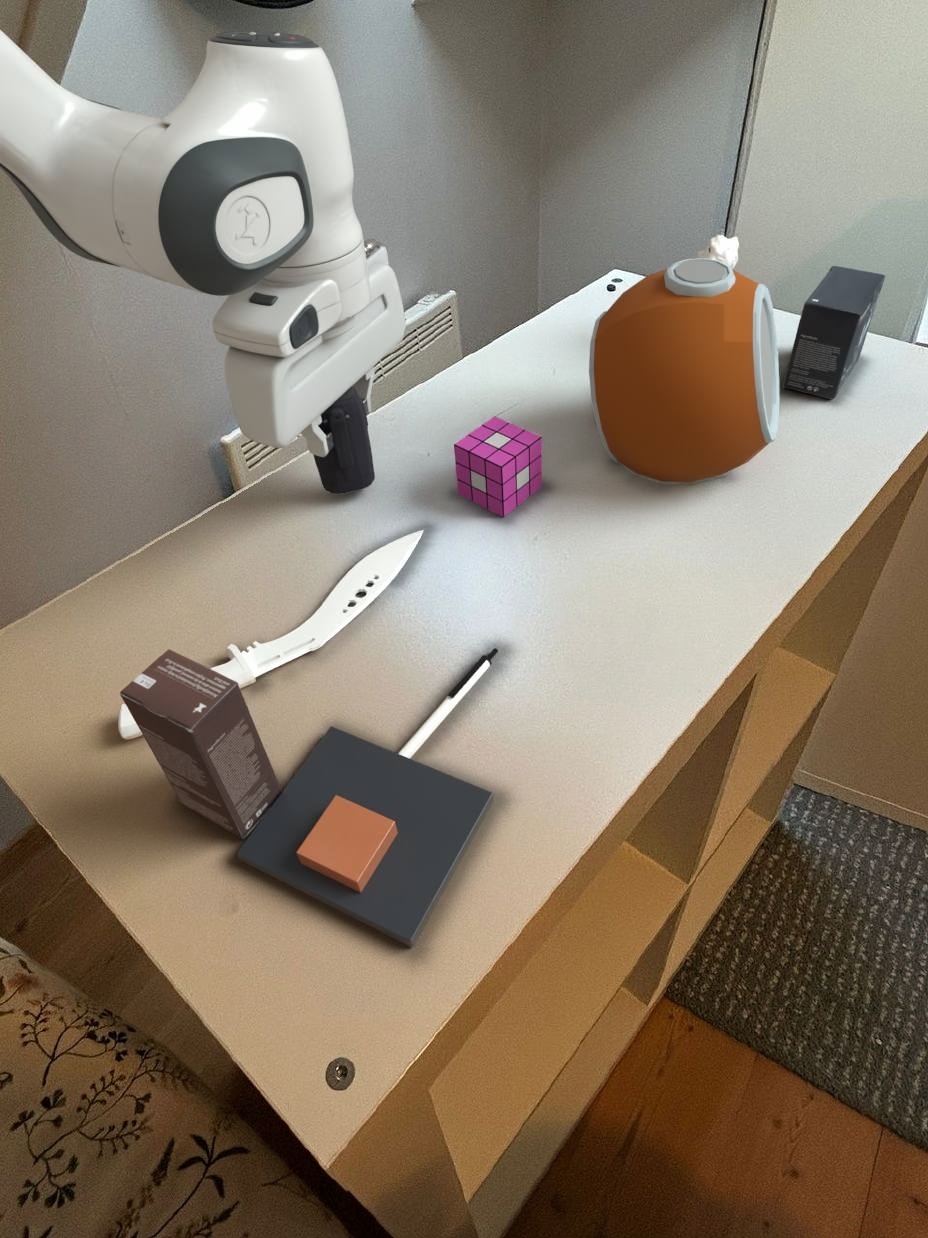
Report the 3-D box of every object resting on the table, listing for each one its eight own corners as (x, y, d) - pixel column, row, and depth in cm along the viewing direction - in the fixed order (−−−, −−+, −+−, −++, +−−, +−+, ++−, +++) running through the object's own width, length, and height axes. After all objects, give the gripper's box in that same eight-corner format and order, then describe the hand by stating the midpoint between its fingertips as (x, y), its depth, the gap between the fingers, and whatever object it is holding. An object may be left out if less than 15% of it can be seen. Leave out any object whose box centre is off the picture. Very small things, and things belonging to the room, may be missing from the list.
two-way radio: (374, 467, 80) (348, 323, 69) (384, 495, 77) (357, 349, 66) (318, 480, 79) (282, 336, 68) (325, 509, 76) (289, 363, 65)
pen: (501, 656, 64) (500, 646, 63) (339, 844, 54) (336, 836, 53) (491, 651, 64) (490, 641, 63) (329, 837, 54) (325, 829, 53)
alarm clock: (761, 521, 72) (809, 338, 60) (566, 492, 77) (572, 316, 64) (777, 403, 84) (819, 230, 72) (608, 384, 89) (620, 218, 76)
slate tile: (239, 860, 53) (235, 853, 53) (333, 733, 60) (330, 725, 59) (412, 949, 49) (410, 942, 48) (494, 800, 55) (493, 792, 54)
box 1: (287, 790, 57) (240, 680, 48) (243, 842, 54) (186, 737, 45) (223, 754, 59) (167, 644, 50) (178, 803, 57) (111, 696, 48)
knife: (421, 520, 74) (469, 566, 69) (423, 535, 75) (470, 581, 70) (89, 667, 63) (119, 734, 58) (97, 682, 64) (127, 748, 60)
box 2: (835, 402, 84) (861, 313, 77) (780, 389, 86) (801, 301, 79) (860, 359, 89) (887, 272, 82) (808, 348, 91) (830, 262, 84)
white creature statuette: (668, 317, 98) (680, 212, 89) (742, 326, 95) (763, 219, 87) (649, 357, 92) (661, 249, 83) (728, 368, 89) (748, 258, 81)
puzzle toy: (542, 487, 78) (542, 436, 73) (503, 518, 75) (501, 467, 71) (496, 465, 80) (494, 415, 76) (457, 494, 78) (452, 444, 74)
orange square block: (301, 863, 52) (295, 852, 51) (339, 806, 54) (335, 794, 53) (360, 893, 50) (356, 882, 49) (398, 833, 53) (395, 821, 52)
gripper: (350, 225, 71) (372, 370, 81) (195, 332, 59) (244, 488, 69) (413, 234, 69) (428, 383, 79) (266, 348, 57) (305, 507, 67)
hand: (341, 433), depth 74 cm, fingers closed on two-way radio, 5 cm apart
